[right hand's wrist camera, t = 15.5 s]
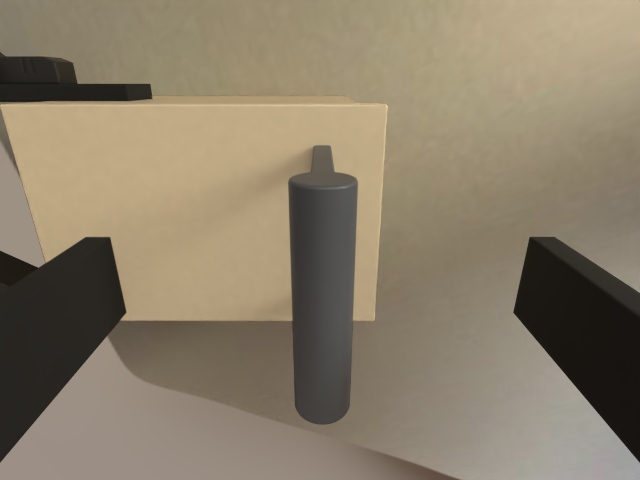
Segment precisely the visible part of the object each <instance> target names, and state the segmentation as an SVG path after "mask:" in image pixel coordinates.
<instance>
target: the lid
mask: <svg viewBox="0 0 640 480" xmlns="http://www.w3.org/2000/svg"><path fill="white" fill-rule="evenodd" d="M0 109H1V112H2V116H3V119H4V123H5V126H6V130H7V133H8V136H9V140H10V143H11V147H12V150H13V154H14V157H15V160H16V164H17V167H18V171H19V174H20V178H21V181H22V184H23V188H24V191H25V195H26V198H27V201H28V205H29V208H30V212H31V215H32V219H33V222H34V226H35V229H36V232H37V236H38V239H39V243H40V246H41V250H42V253H43V256H44V260H45V263H47V262H48V261H50V260H51V259H53V258H54V257H56V256H57V255H59V254H61V253H62V252H64V251H65V250H67V249H68V248H70V247H71V246H73V245H74V244H76V243H77V242H79V241H80V240H82V239H83V238H85V237H110V238H111V243H112V247H113V252H114V257H115V261H116V266H117V270H118V275H119V280H120V284H121V289H122V293H123V298H124V303H125V307H126V312H127V313H126V314H125V315H124V316H123V317H122V319H121V320H120V321H292V324H293V356H294V388H295V407H296V410H297V411H298V413H299V414H300V416H301V417H303V418H304V419H305V420H307V421H309V422H311V423H315V424H330V423H334V422H336V421H338V420H340V419H341V418H342V417H343V416H344V415H345V414H346V413H347V411H348V409H349V406H350V385H351V358H352V332H353V321H374V319H375V302H376V286H377V270H378V253H379V237H380V221H381V205H382V188H383V172H384V156H385V140H386V123H387V105H386V104H383V103H15V104H2V105H0Z"/></svg>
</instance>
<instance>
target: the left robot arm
mask: <svg viewBox="0 0 640 480" xmlns="http://www.w3.org/2000/svg"><path fill="white" fill-rule="evenodd" d="M147 99H152V93H151V86H150V84H77V79H76V75H75V70H74V66H73V63H72V62H69V61H67V60H64V59H62V58H52V57H6V56H5V55H3V54H2V53H1V52H0V102H45V101H136V100H147ZM36 269H38V267H35V266H33V265H31V264H29V263H26V262H24V261H22V260H20V259H17V258H15V257H13V256H11V255H8V254H6V253H4V252H2V251H0V293H1V292H3V291H4V290H6V289H7V288H9V287H10V286H12V285H13V284H15V283H16V282H18V281H19V280H21V279H22V278H24V277H25V276H27V275H29V274H30V273H32V272H33V271H35V270H36Z"/></svg>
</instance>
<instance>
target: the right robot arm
mask: <svg viewBox="0 0 640 480" xmlns="http://www.w3.org/2000/svg"><path fill="white" fill-rule="evenodd" d="M126 313H127V312H126V307H125V303H124V298H123V293H122V289H121V284H120V280H119V275H118V270H117V266H116V261H115V257H114V252H113V247H112V243H111V238H110V237H85V238H83V239H82V240H80V241H79V242H77V243H76V244H74V245H73V246H71V247H70V248H68V249H67V250H65V251H64V252H62V253H61V254H59V255H57V256H56V257H54V258H53V259H51V260H50V261H48V262H47V263H45V264H44V265H42V266H41V267H39V268H38V269H36V270H35V271H33V272H32V273H30V274H29V275H27V276H25V277H24V278H22V279H21V280H19V281H18V282H16V283H15V284H13V285H12V286H10V287H9V288H7V289H6V290H4V291H3V292H1V293H0V462H1V461H2V460H3V459H4V457H5V456H6V455H7V454H8V453H9V451H10V450H11V449H12V448H13V447H14V446H15V444H16V443H17V442H18V441H19V440H20V438H21V437H22V436H23V435H24V434H25V432H26V431H27V430H28V429H29V428H30V427H31V425H32V424H33V423H34V422H35V421H36V419H37V418H38V417H39V416H40V415H41V413H42V412H43V411H44V410H45V409H46V408H47V406H48V405H49V404H50V403H51V402H52V400H53V399H54V398H55V397H56V396H57V394H58V393H59V392H60V391H61V390H62V389H63V387H64V386H65V385H66V384H67V383H68V381H69V380H70V379H71V378H72V377H73V376H74V374H75V373H76V372H77V371H78V370H79V368H80V367H81V366H82V365H83V364H84V362H85V361H86V360H87V359H88V358H89V356H90V355H91V354H92V353H93V352H94V351H95V349H96V348H97V347H98V346H99V345H100V343H101V342H102V341H103V340H104V339H105V338H106V336H107V335H108V334H109V333H110V332H111V330H112V329H113V328H114V327H115V326H116V325H117V323H118V322H119V321H120V320H121V319H122V317H123V316H124V315H125V314H126ZM513 313H514V314H515V315H516V316H517V317H518V319H519V320H520V321H521V322H522V323H523V325H524V326H525V327H526V328H527V329H528V330H529V332H530V333H531V334H532V335H533V336H534V338H535V339H536V340H537V341H538V342H539V344H540V345H541V346H542V347H543V348H544V349H545V351H546V352H547V353H548V354H549V355H550V357H551V358H552V359H553V360H554V361H555V363H556V364H557V365H558V366H559V367H560V368H561V370H562V371H563V372H564V373H565V374H566V376H567V377H568V378H569V379H570V380H571V381H572V383H573V384H574V385H575V386H576V387H577V389H578V390H579V391H580V392H581V393H582V395H583V396H584V397H585V398H586V399H587V400H588V402H589V403H590V404H591V405H592V406H593V408H594V409H595V410H596V411H597V412H598V414H599V415H600V416H601V417H602V418H603V419H604V421H605V422H606V423H607V424H608V425H609V427H610V428H611V429H612V430H613V431H614V432H615V434H616V435H617V436H618V437H619V438H620V440H621V441H622V442H623V443H624V444H625V446H626V447H627V448H628V449H629V450H630V451H631V453H632V454H633V455H634V456H635V457H636V459H637V460H638V461H639V462H640V293H639V292H637V291H636V290H634V289H633V288H631V287H630V286H628V285H627V284H625V283H624V282H622V281H621V280H619V279H618V278H616V277H615V276H613V275H611V274H610V273H608V272H607V271H605V270H604V269H602V268H601V267H599V266H598V265H596V264H595V263H593V262H592V261H590V260H589V259H587V258H586V257H584V256H583V255H581V254H579V253H578V252H576V251H575V250H573V249H572V248H570V247H569V246H567V245H566V244H564V243H563V242H561V241H560V240H558V239H557V238H555V237H530V238H529V243H528V247H527V252H526V257H525V261H524V266H523V270H522V275H521V280H520V284H519V289H518V293H517V298H516V303H515V307H514V312H513Z"/></svg>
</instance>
